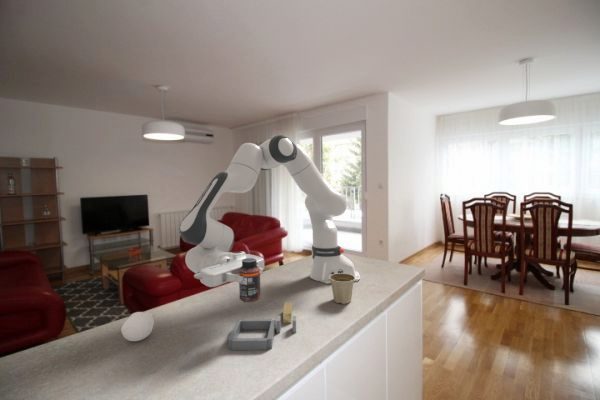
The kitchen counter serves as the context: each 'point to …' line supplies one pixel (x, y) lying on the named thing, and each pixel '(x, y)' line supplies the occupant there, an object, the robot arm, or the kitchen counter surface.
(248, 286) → the supplement bottle
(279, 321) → the dock
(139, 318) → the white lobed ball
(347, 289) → the flower pot
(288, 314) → the bar
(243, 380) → the kitchen counter surface
